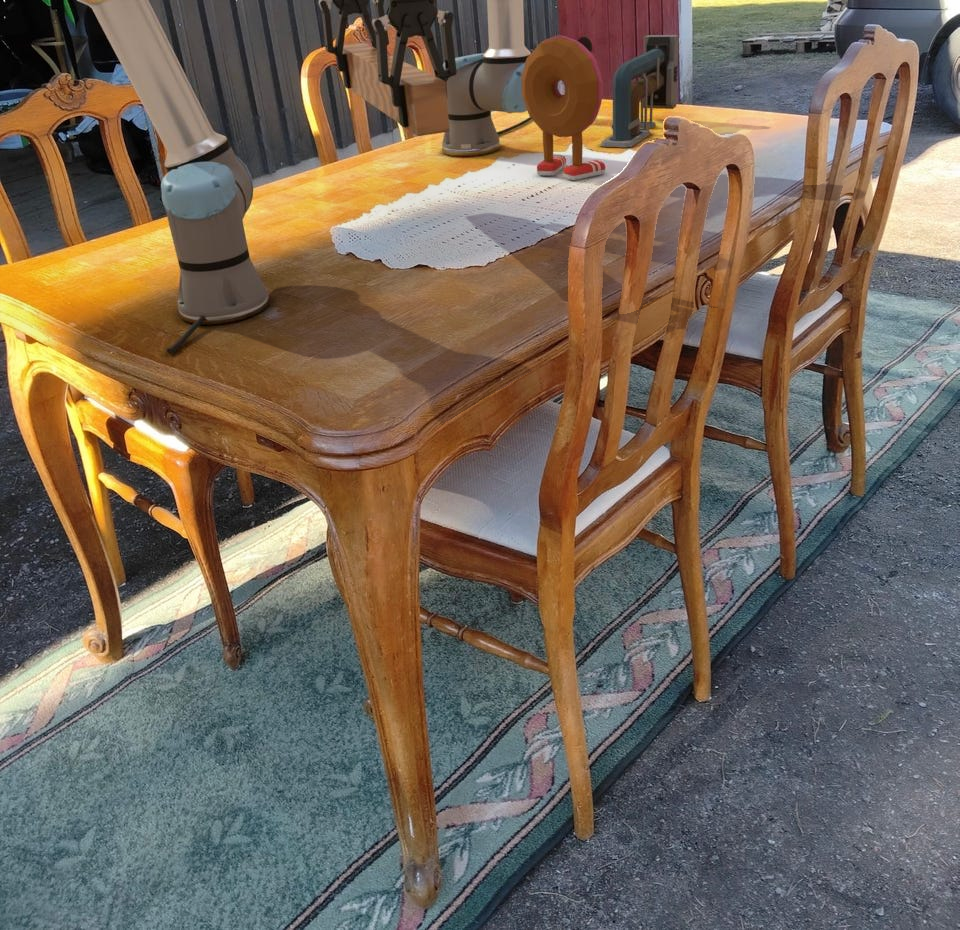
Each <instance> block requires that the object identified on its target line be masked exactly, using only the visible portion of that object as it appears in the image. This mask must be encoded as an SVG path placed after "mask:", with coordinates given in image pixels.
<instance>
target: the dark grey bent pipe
mask: <svg viewBox="0 0 960 930" xmlns="http://www.w3.org/2000/svg"><path fill="white" fill-rule="evenodd" d="M678 59H679V34H651V35H649V34H648V35H645V36H644V37H643V53H642V54H639V55H638V56H636V57H633V58H631V59H629V60H627V61H625V62H623V63H621V64H620V66H619V67H617V69H616V70H615V72H614V73H613V74H614V75H613V79H612V123H611V129H612V135H610V136H608V137H606V138H605V139H603V140H601V142H600V144H599V146H600V147H604V148H605V147H606V148H608V147H609V148H610V147H611V148H632V147H633V146H635V145H637V144H638V143H640V142H641V141H643V140H644V139H646V138H647V137H649V136H651V135H652V133H651V131H650V129H653V128H655V127H656V126H657V124H656V122H654V121H653V111H654V109H659V110H662V109H665V110H673V109H675V108H676V107H677V100H678V98H677V96H678V66H679V65H678V63H679V61H678ZM637 78H640V79H638V80H636V81H634V82H632V81H633V80H635V79H637ZM648 109H649V121H648Z"/></svg>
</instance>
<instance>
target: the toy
mask: <svg viewBox="0 0 960 930" xmlns="http://www.w3.org/2000/svg"><path fill="white" fill-rule="evenodd" d="M592 52H593V44H592V41H591V39H589V37H587V36H582V37H580V38H579V39H577V40H576V39H574V38H570V37H568V36H566V35H561V34H558V35H555V36H551V37H549V38H547V39H544V40H543V41H541V42H540V43H539V44H538V45H537V46H536V47H535V48H534V49H533V51H531V54H530V55H529V56H528V58H527V59H526V63H525V66H524V69H523V73H522V76H521V82H522V98H523V101H524V103H525V106H526V108H527V111H526V112H527V113H528V116H529V117H531V121H533V122H534V124H536V125H537V127H538V128H539V129H540V130H541V131H542V148H543V149H542V150H543V151H542V152H543V159H542V161H540V162H539V163H538V164H537V165H536V174H537V175H538V176H555V175H556V174H557V173H559V172H560V171H561V170H563V177H564V178H565V179H567V180H570V181H578V180H581V179H586V178H591V177H595V176H600V175H603V174H605V173H606V163H605V162H604V161H601V160H597V159H594V160H589V161H584V162H583V147H584V146H583V132H585V130H587V129H588V128H589V127H590V126H592V125H593V124H594V122H595V121H596V119H597V118H598V114H599V111H600V108H601V106H602V101H603V90H604V89H603V87H604V83H603V78H602V74H601V70H600V67H599V65H598V61H597V59H596V58H595V56H594V54H593V53H592ZM560 80H561V81H562V82H563V83H564V86H565V94H564V95H562V94H561V91H560V90H559V83H560ZM554 137H558V138H570V137H571V143H572V145H571V156H572V157H571V159H572V160H571V161H572V164H570V165H567V158H566V156H565V155H560V154H554Z"/></svg>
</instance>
